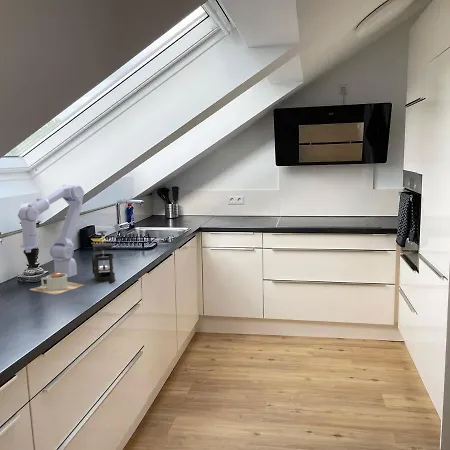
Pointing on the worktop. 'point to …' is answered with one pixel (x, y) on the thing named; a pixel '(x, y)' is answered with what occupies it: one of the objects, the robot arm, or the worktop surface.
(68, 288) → the serving board
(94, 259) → the french press
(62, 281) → the faceted mug
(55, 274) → the plunger
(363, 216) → the worktop surface
